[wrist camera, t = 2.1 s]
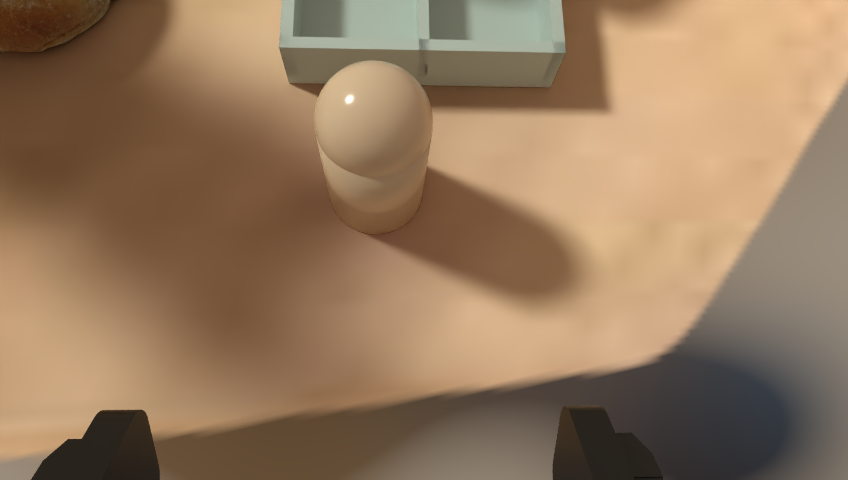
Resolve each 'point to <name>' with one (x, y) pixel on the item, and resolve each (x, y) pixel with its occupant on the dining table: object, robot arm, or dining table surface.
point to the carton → (426, 39)
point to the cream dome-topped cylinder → (374, 144)
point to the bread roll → (45, 22)
